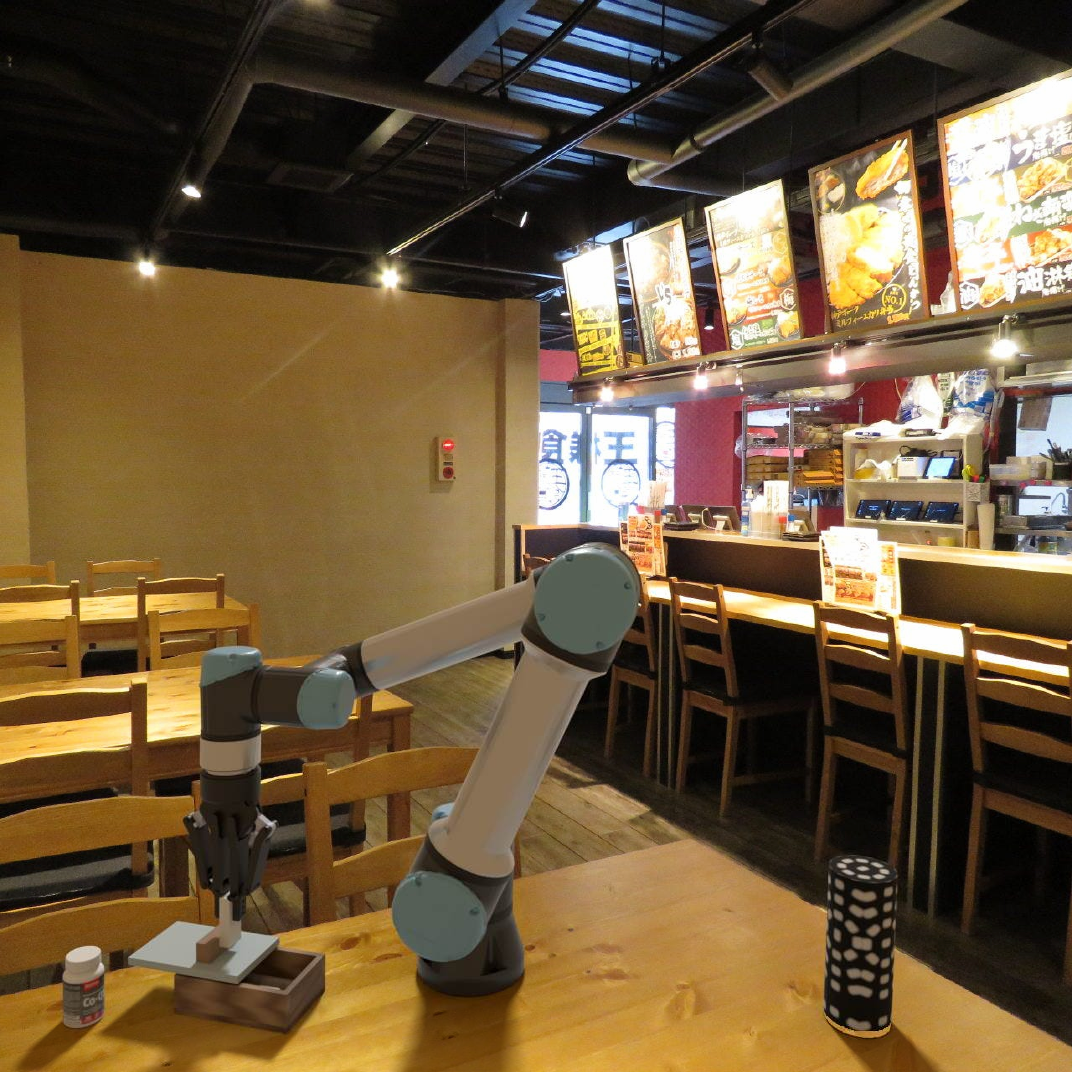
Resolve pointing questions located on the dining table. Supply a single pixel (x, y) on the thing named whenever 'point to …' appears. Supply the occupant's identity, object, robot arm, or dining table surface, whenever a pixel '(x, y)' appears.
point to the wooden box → (257, 992)
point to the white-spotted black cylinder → (860, 942)
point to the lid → (203, 952)
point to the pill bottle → (83, 987)
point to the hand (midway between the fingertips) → (230, 942)
